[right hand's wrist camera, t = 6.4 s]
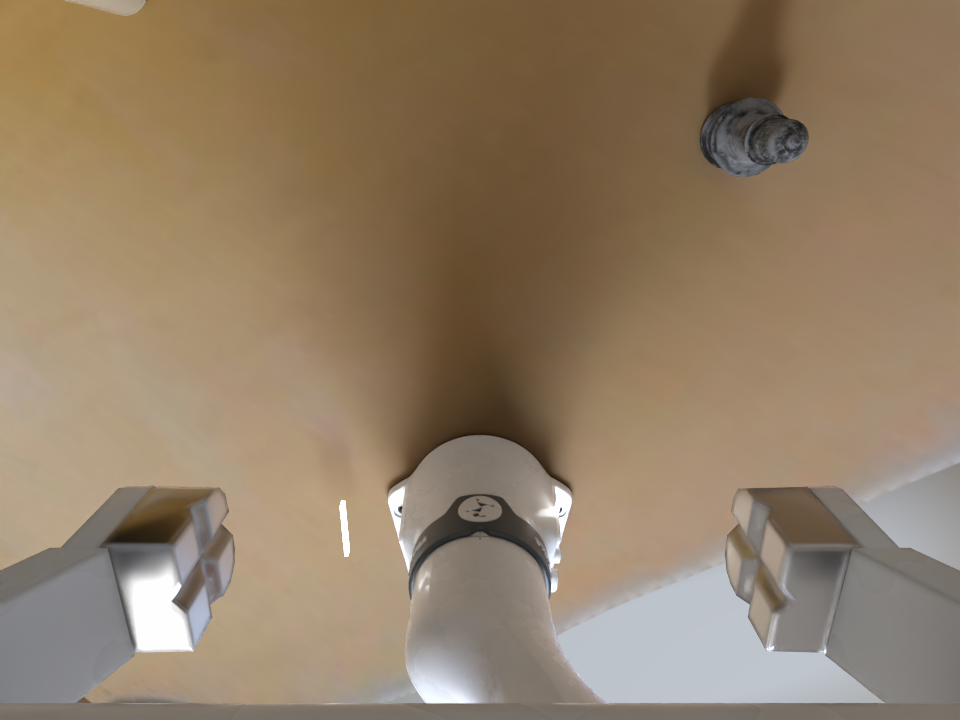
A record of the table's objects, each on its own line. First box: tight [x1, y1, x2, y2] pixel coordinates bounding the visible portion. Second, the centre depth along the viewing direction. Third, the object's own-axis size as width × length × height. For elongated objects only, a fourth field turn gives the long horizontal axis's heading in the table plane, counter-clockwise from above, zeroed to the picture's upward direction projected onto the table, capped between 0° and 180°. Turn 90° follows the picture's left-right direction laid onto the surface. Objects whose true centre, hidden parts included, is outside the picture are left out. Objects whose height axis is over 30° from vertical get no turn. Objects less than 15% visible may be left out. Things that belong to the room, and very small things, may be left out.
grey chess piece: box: [700, 97, 809, 177], centre depth 48 cm, size 6×6×12 cm
